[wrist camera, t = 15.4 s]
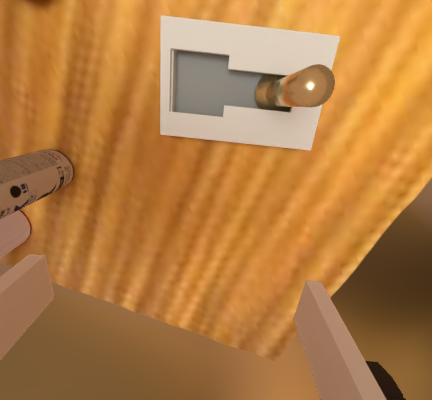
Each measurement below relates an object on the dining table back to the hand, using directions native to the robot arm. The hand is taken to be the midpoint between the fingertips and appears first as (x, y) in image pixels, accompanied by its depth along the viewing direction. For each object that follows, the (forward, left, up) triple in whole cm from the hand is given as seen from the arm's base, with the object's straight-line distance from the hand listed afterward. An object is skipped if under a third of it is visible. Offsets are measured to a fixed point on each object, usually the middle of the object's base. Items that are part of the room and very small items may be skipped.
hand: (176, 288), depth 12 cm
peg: (-11, +9, -28) cm, 31 cm away
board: (-11, +4, -29) cm, 31 cm away
